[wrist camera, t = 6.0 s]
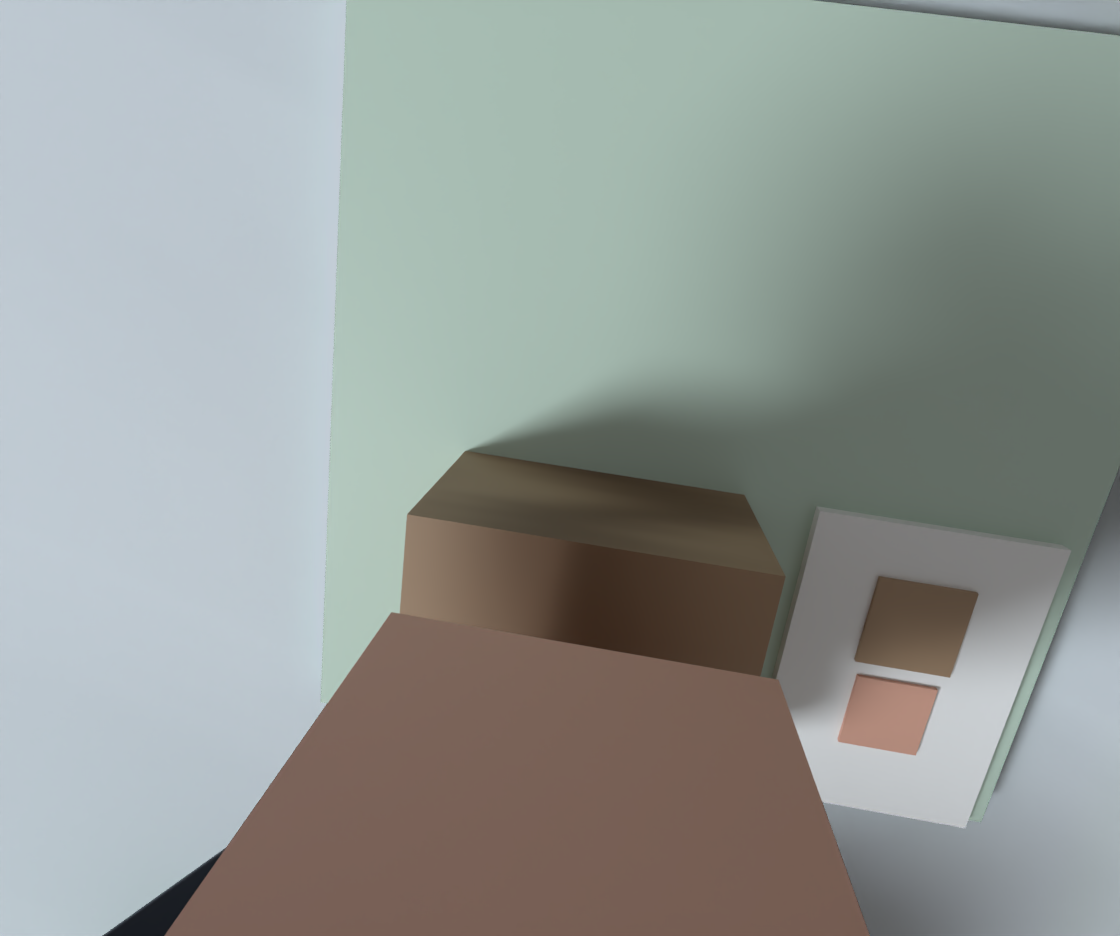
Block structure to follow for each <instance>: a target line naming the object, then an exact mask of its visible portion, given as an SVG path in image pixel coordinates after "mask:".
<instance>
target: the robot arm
mask: <svg viewBox="0 0 1120 936" xmlns="http://www.w3.org/2000/svg"><path fill="white" fill-rule="evenodd" d="M225 849H226V848H225ZM225 849H223V850H222V851H221V852H219V853H218V854H216V855H215V856H214V857H212V858H211V859H209V860H208V861H207V862H205V863H204V864H202V865H201V866H200V867H198V868H197V869H195V870H194V871H193V872H191V873H190V874H188V875H187V876H186V877H184V878H183V879H181V880H180V881H179V882H177V883H176V884H174V885H173V886H172V887H170V888H169V889H167V890H166V891H165V892H163V893H162V894H160V895H159V896H158V897H156V898H155V899H153V900H152V901H151V902H149V903H148V904H146V905H145V906H144V907H142V908H141V909H139V910H138V911H137V912H135V913H134V914H132V915H131V916H130V917H128V918H127V919H125V920H124V921H123V922H121V923H120V924H118V925H117V926H116V927H114V928H113V929H111V930H110V931H109V932H107V933H106V934H104V935H103V936H165V934H166V933H167V931H168V930H169V928H170V927H171V926H172V924H173V923H174V921H175V920H176V919H177V917H178V916H179V914H180V913H181V911H182V910H183V909H184V907H185V906H186V904H187V903H188V901H189V900H190V899H191V897H192V896H193V894H194V893H195V891H196V890H197V889H198V887H199V886H200V884H201V883H202V881H203V880H204V879H205V877H206V876H207V874H208V873H209V871H210V870H211V869H212V867H213V866H214V864H215V863H216V862H217V860H218V859H219V857H220V856H221V854H222V853H223V852H224V850H225Z"/></svg>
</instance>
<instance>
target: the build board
mask: <svg viewBox="0 0 1120 936" xmlns="http://www.w3.org/2000/svg"><path fill="white" fill-rule="evenodd" d="M465 451H469V452H476V453H482V454H488V455H495V456H501V457H507V458H514V459H520V460H526V461H533V462H539V463H546V464H552V465H558V466H565V467H571V468H577V469H584V470H590V471H596V472H603V473H609V474H615V475H622V476H628V477H634V478H641V479H647V480H653V481H660V482H666V483H672V484H679V485H685V486H691V487H698V488H704V489H710V490H717V491H723V492H730V493H736V494H742V495H745V497H746V499H747V501H748V503H749V505H750V507H751V509H752V511H753V513H754V515H755V517H756V519H757V521H758V523H759V525H760V527H761V529H762V531H763V533H764V535H765V537H766V538H767V540H768V542H769V544H770V546H771V548H772V550H773V552H774V554H775V556H776V558H777V560H778V562H779V564H780V566H781V568H782V570H783V572H784V574H785V576H786V577H785V581H784V585H783V589H782V593H781V597H780V601H779V605H778V609H777V613H776V617H775V621H774V625H773V629H772V633H771V637H770V640H769V644H768V648H767V652H766V656H765V660H764V664H763V668H762V672H761V676H760V677H766V678H772V679H777V680H779V683H780V685H781V688H782V691H783V694H784V697H785V699H786V702H787V705H788V708H789V711H790V713H791V716H792V719H793V722H794V725H795V727H796V730H797V733H798V736H799V739H800V741H801V744H802V747H803V750H804V753H805V755H806V758H807V761H808V764H809V767H810V769H811V772H812V775H813V778H814V781H815V783H816V786H817V789H818V792H819V795H820V797H821V800H822V802H823V803H829V804H834V805H840V806H845V807H851V808H856V809H862V810H867V811H873V812H878V813H884V814H889V815H894V816H900V817H905V818H911V819H916V820H922V821H927V822H933V823H938V824H944V825H949V826H955V827H960V828H966V825H967V822H968V820H971V821H976V822H981V821H982V819H983V816H984V813H985V811H986V808H987V806H988V803H989V801H990V798H991V795H992V793H993V790H994V788H995V785H996V783H997V780H998V778H999V775H1000V772H1001V770H1002V767H1003V765H1004V762H1005V760H1006V757H1007V754H1008V752H1009V749H1010V747H1011V744H1012V742H1013V739H1014V736H1015V734H1016V731H1017V729H1018V726H1019V724H1020V721H1021V718H1022V716H1023V713H1024V711H1025V708H1026V706H1027V703H1028V701H1029V698H1030V695H1031V693H1032V690H1033V688H1034V685H1035V683H1036V680H1037V677H1038V675H1039V672H1040V670H1041V667H1042V665H1043V662H1044V659H1045V657H1046V654H1047V652H1048V649H1049V647H1050V644H1051V642H1052V639H1053V636H1054V634H1055V631H1056V629H1057V626H1058V624H1059V621H1060V618H1061V616H1062V613H1063V611H1064V608H1065V606H1066V603H1067V600H1068V598H1069V595H1070V593H1071V590H1072V588H1073V585H1074V582H1075V580H1076V577H1077V575H1078V572H1079V570H1080V567H1081V565H1082V562H1083V559H1084V557H1085V554H1086V552H1087V549H1088V547H1089V544H1090V541H1091V539H1092V536H1093V534H1094V531H1095V529H1096V526H1097V523H1098V521H1099V518H1100V516H1101V513H1102V511H1103V508H1104V506H1105V503H1106V500H1107V498H1108V495H1109V493H1110V490H1111V488H1112V485H1113V482H1114V480H1115V477H1116V475H1117V472H1118V470H1119V467H1120V36H1119V35H1110V34H1101V33H1093V32H1084V31H1075V30H1067V29H1058V28H1049V27H1041V26H1032V25H1023V24H1014V23H1006V22H997V21H988V20H980V19H971V18H962V17H954V16H945V15H936V14H928V13H919V12H910V11H901V10H893V9H884V8H875V7H867V6H858V5H849V4H841V3H832V2H823V1H815V0H347V2H346V29H345V56H344V84H343V111H342V138H341V165H340V192H339V219H338V246H337V273H336V300H335V327H334V354H333V381H332V408H331V436H330V463H329V490H328V517H327V544H326V571H325V598H324V625H323V652H322V679H321V702H322V703H328V702H329V700H330V699H331V698H332V696H333V695H334V693H335V692H336V690H337V689H338V688H339V686H340V685H341V683H342V682H343V680H344V679H345V678H346V676H347V675H348V673H349V672H350V670H351V669H352V668H353V666H354V665H355V663H356V662H357V661H358V659H359V658H360V656H361V655H362V653H363V652H364V651H365V649H366V648H367V646H368V645H369V643H370V642H371V641H372V639H373V638H374V636H375V635H376V633H377V632H378V631H379V629H380V628H381V626H382V625H383V623H384V622H385V621H386V619H387V618H388V616H389V615H390V613H391V612H394V613H399V614H400V602H401V589H402V575H403V561H404V548H405V534H406V520H407V514H408V513H409V512H410V510H411V509H412V508H413V507H414V506H415V505H416V504H417V503H418V502H419V501H420V500H421V499H422V497H423V496H424V495H425V494H426V493H427V492H428V491H429V490H430V489H431V488H432V487H433V485H434V484H435V483H436V482H437V481H438V480H439V479H440V478H441V477H442V476H443V475H444V474H445V472H446V471H447V470H448V469H449V468H450V467H451V466H452V465H453V464H454V463H455V462H456V460H457V459H458V458H459V457H460V456H461V455H462V454H463V453H464V452H465Z"/></svg>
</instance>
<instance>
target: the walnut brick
mask: <svg viewBox="0 0 1120 936" xmlns="http://www.w3.org/2000/svg"><path fill="white" fill-rule="evenodd" d="M785 577H786V576H785V574H784V572H783V570H782V568H781V566H780V564H779V562H778V560H777V558H776V556H775V554H774V552H773V550H772V548H771V546H770V544H769V542H768V540H767V538H766V537H765V535H764V533H763V531H762V529H761V527H760V525H759V523H758V521H757V519H756V517H755V515H754V513H753V511H752V509H751V507H750V505H749V503H748V501H747V499H746V497H745V495H742V494H736V493H730V492H723V491H717V490H710V489H704V488H698V487H691V486H685V485H679V484H672V483H666V482H660V481H653V480H647V479H641V478H634V477H628V476H622V475H615V474H609V473H603V472H596V471H590V470H584V469H577V468H571V467H565V466H558V465H552V464H546V463H539V462H533V461H526V460H520V459H514V458H507V457H501V456H495V455H488V454H482V453H476V452H469V451H465V452H464V453H463V454H462V455H461V456H460V457H459V458H458V459H457V460H456V462H455V463H454V464H453V465H452V466H451V467H450V468H449V469H448V470H447V471H446V472H445V474H444V475H443V476H442V477H441V478H440V479H439V480H438V481H437V482H436V483H435V484H434V485H433V487H432V488H431V489H430V490H429V491H428V492H427V493H426V494H425V495H424V496H423V497H422V499H421V500H420V501H419V502H418V503H417V504H416V505H415V506H414V507H413V508H412V509H411V510H410V512H409V513H408V514H407V520H406V534H405V548H404V561H403V575H402V589H401V602H400V614H405V615H411V616H416V617H422V618H428V619H434V620H439V621H445V622H451V623H457V624H462V625H468V626H474V627H479V628H485V629H491V630H497V631H502V632H508V633H514V634H520V635H525V636H531V637H537V638H542V639H548V640H554V641H560V642H565V643H571V644H577V645H583V646H588V647H594V648H600V649H606V650H611V651H617V652H623V653H628V654H634V655H640V656H646V657H651V658H657V659H663V660H669V661H674V662H680V663H686V664H691V665H697V666H703V667H709V668H714V669H720V670H726V671H732V672H737V673H743V674H749V675H755V676H761V672H762V668H763V664H764V660H765V656H766V652H767V648H768V644H769V640H770V637H771V633H772V629H773V625H774V621H775V617H776V613H777V609H778V605H779V601H780V597H781V593H782V589H783V585H784V581H785Z"/></svg>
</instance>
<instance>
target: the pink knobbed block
mask: <svg viewBox="0 0 1120 936" xmlns="http://www.w3.org/2000/svg"><path fill="white" fill-rule="evenodd" d="M165 936H870V935H869V932H868V929H867V926H866V924H865V921H864V918H863V915H862V912H861V910H860V907H859V904H858V901H857V898H856V896H855V893H854V890H853V887H852V884H851V882H850V879H849V876H848V873H847V870H846V868H845V865H844V862H843V859H842V856H841V853H840V851H839V848H838V845H837V842H836V839H835V837H834V834H833V831H832V828H831V825H830V823H829V820H828V817H827V814H826V811H825V809H824V806H823V803H822V800H821V797H820V795H819V792H818V789H817V786H816V783H815V781H814V778H813V775H812V772H811V769H810V767H809V764H808V761H807V758H806V755H805V753H804V750H803V747H802V744H801V741H800V739H799V736H798V733H797V730H796V727H795V725H794V722H793V719H792V716H791V713H790V711H789V708H788V705H787V702H786V699H785V697H784V694H783V691H782V688H781V685H780V683H779V680H777V679H772V678H766V677H760V676H755V675H749V674H743V673H737V672H732V671H726V670H720V669H714V668H709V667H703V666H697V665H691V664H686V663H680V662H674V661H669V660H663V659H657V658H651V657H646V656H640V655H634V654H628V653H623V652H617V651H611V650H606V649H600V648H594V647H588V646H583V645H577V644H571V643H565V642H560V641H554V640H548V639H542V638H537V637H531V636H525V635H520V634H514V633H508V632H502V631H497V630H491V629H485V628H479V627H474V626H468V625H462V624H457V623H451V622H445V621H439V620H434V619H428V618H422V617H416V616H411V615H405V614H399V613H394V612H391V613H390V615H389V616H388V618H387V619H386V621H385V622H384V623H383V625H382V626H381V628H380V629H379V631H378V632H377V633H376V635H375V636H374V638H373V639H372V641H371V642H370V643H369V645H368V646H367V648H366V649H365V651H364V652H363V653H362V655H361V656H360V658H359V659H358V661H357V662H356V663H355V665H354V666H353V668H352V669H351V670H350V672H349V673H348V675H347V676H346V678H345V679H344V680H343V682H342V683H341V685H340V686H339V688H338V689H337V690H336V692H335V693H334V695H333V696H332V698H331V699H330V700H329V702H328V703H327V705H326V706H325V708H324V709H323V710H322V712H321V713H320V715H319V716H318V718H317V719H316V720H315V722H314V723H313V725H312V726H311V728H310V729H309V730H308V732H307V733H306V735H305V736H304V737H303V739H302V740H301V742H300V743H299V745H298V746H297V747H296V749H295V750H294V752H293V753H292V755H291V756H290V757H289V759H288V760H287V762H286V763H285V765H284V766H283V767H282V769H281V770H280V772H279V773H278V775H277V776H276V777H275V779H274V780H273V782H272V783H271V785H270V786H269V787H268V789H267V790H266V792H265V793H264V795H263V796H262V797H261V799H260V800H259V802H258V803H257V804H256V806H255V807H254V809H253V810H252V812H251V813H250V814H249V816H248V817H247V819H246V820H245V822H244V823H243V824H242V826H241V827H240V829H239V830H238V832H237V833H236V834H235V836H234V837H233V839H232V840H231V842H230V843H229V844H228V846H227V847H226V849H225V850H224V852H223V853H222V854H221V856H220V857H219V859H218V860H217V862H216V863H215V864H214V866H213V867H212V869H211V870H210V871H209V873H208V874H207V876H206V877H205V879H204V880H203V881H202V883H201V884H200V886H199V887H198V889H197V890H196V891H195V893H194V894H193V896H192V897H191V899H190V900H189V901H188V903H187V904H186V906H185V907H184V909H183V910H182V911H181V913H180V914H179V916H178V917H177V919H176V920H175V921H174V923H173V924H172V926H171V927H170V928H169V930H168V931H167V933H166V934H165Z"/></svg>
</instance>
